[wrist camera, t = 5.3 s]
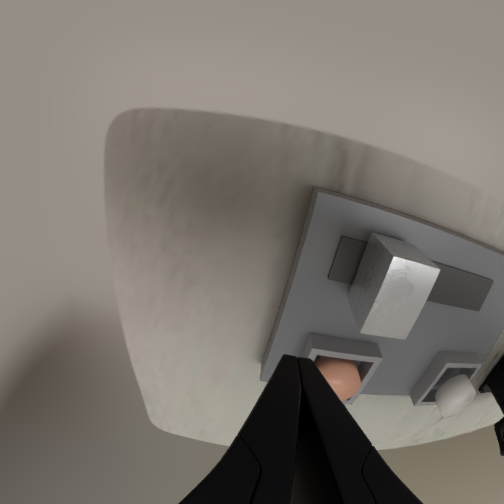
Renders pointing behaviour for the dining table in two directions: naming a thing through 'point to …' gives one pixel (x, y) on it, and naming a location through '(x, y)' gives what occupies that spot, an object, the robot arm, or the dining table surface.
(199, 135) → the dining table surface
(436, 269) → the rough gray brick
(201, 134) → the dining table surface
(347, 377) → the terracotta button
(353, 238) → the panel
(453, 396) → the grey button
